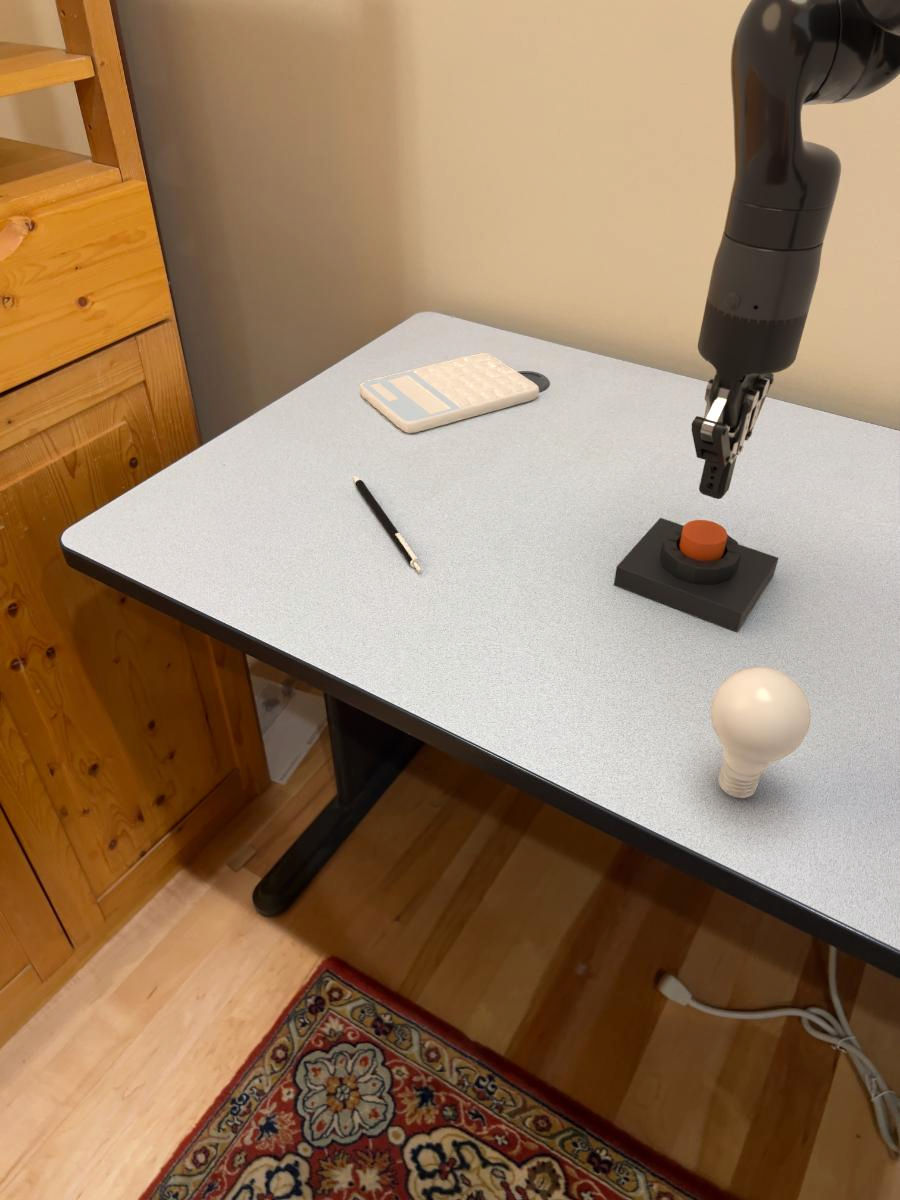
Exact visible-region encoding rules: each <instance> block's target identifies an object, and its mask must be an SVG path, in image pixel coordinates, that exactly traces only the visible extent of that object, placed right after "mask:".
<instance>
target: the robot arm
mask: <svg viewBox="0 0 900 1200" xmlns="http://www.w3.org/2000/svg"><path fill="white" fill-rule="evenodd" d="M731 45H732V46H731V56H730V84H731V86H730V87H731V101H732V117H733V118H732V119H733V120H732V121H733V147H734V148H733V149H734V178H733V183H732V188H731V191H730V196H729V202H728V207H727V210H726V211H727V212H726V217H725V222H724V225H723V226H724V227H723V232H722V235H721V239H720V241H719V242H720V243H719V246H718V248H717V251H716V254H715V257H714V261H713V265H712V270H711V275H710V280H709V285H708V290H707V294H706V295H707V296H706V299H705V306H704V311H703V316H702V320H701V321H702V322H701V326H700V331H699V337H698V342H697V350H698V353H699V355H700V356H701V357H702V358H703V359H704V360H705V361H706V362H708V363H709V364H710V365H711V366H712V367H713V368H714V369H715V374H714V377H713V378H710V379H709V380H708V382H707V385H706V389H705V394H704V401H705V403H706V404H705V410H704V416H703V417H702V416H698V415H697V416H695V417H694V419H693V420H692V422H691V435H692V440H693V443H694V449H695V455H696V458H697V459H701V460H704V464H703V468H702V473H701V477H700V483H699V486H698V490H699V492H700V494H701V495H705V496H706V497H709V498H713V499H716V500H720V499H723V497H724V496H725V495H726V494H727V493H728V491H729V490H730V487H731V482H732V478H733V474H734V471H735V466H736V462H737V458H738V456H740V454H741V453H742V452H743V450H744V444H745V441H749V439H750V438H751V437H752V434H753V430H754V427H755V425H756V423H757V421H758V417H759V415H760V413H761V410H762V408H763V405H764V403H765V401H766V398H767V395H768V393H769V390H770V388H771V386H772V385H773V384H774V380H775V378H774V377H775V376H774V374H777V373H780V372H782V371H784V370H787V369H789V368H790V367H791V366H792V365H793V364H794V362H795V361H796V359H797V356H798V352H799V349H800V343H801V341H802V337H803V334H804V330H805V326H806V323H807V318H808V315H809V311H810V308H811V304H812V300H813V296H814V293H815V289H816V285H817V282H818V278H819V273H820V268H821V261H822V259H821V258H822V252H823V247H824V241H825V238H826V234H827V231H828V227H829V223H830V219H831V217H832V212H833V209H834V204H835V201H836V197H837V193H838V189H839V184H840V179H841V175H842V174H841V173H842V161H841V159H840V157H839V155H838V154H837V153H836V152H835V151H834V150H833V149H831V148H830V147H828V146H825V145H823V144H819V143H816V142H812V141H808V140H804V138H803V137H804V136H803V130H802V129H803V128H802V110H803V106H815V105H832V104H845V103H850V102H854V101H857V100H860V99H862V98H865V97H867V96H870V95H871V94H874V93H875V92H878V91H879V90H881V89H882V88H884V87H886V86H887V85H888V84H890V83H891V82H893V81H894V80H896V78H897V77H899V76H900V0H750V1H749V3H748V4H747V6H746V8H745V10H744V11H743V13H742V15H741V17H740V19H739V22H738V25H737V27H736V30H735V33H734V36H733V41H732V44H731Z"/></svg>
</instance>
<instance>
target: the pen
mask: <svg viewBox="0 0 900 1200" xmlns="http://www.w3.org/2000/svg"><path fill="white" fill-rule="evenodd" d="M352 477H353V481H354V484H355V487H356V488H357V490H358V491H359V493H360V494H361V495H362V497H363V499H364V501H366V503H367V505H368V506H369V508H371V510H372V512H373V513H374V515H375V517H376V518H377V519H378V520H379V522H380V523H381V525H382V526H383V528H384V529H385V531H386V532H387V534H388V535H389V536H390V538H391V539H392V541H393V542H394V543H395V545H396V547H397V548H398V549H399V551H400V552H401V553H402V555H403V557H404V558H405V560H406V561H407V562H408V564H409V565H410V567H411V568H415V569H416V571H417V572H418V574H421V573H422V572H423V570H422V568H421V566H420V561H419V559H418V557H417V555H416V554H415V553H414V551H413V550H412V548H411V547H410V546H409V544H408V543H407V542H406V539H404V537H403V535H402V534H401V533H400V532H399V531H398V529H397V528H396V526H395V525H394V523H393V522H392V521H391V519H390V518H389V517H388V515H387V514H386V513H385V511H384V509H383V507H381V505H380V504H379V502H378V501H377V499H376V498H375V497H374V495H373V494H372V492H371V490H369V489H368V487H367V486H366V484H365V482H364V481H363V480H362V479H360V478H359V477H358V476H356V475H353V476H352Z"/></svg>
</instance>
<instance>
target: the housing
mask: <svg viewBox="0 0 900 1200" xmlns="http://www.w3.org/2000/svg"><path fill="white" fill-rule="evenodd" d="M683 527H684V525H683V524H680V523H677V522H674V521H671V520H669V519H667V518H663V517H659V518H658V519H657V520H656V522H655V523H654V524H653V525H652V526H651V528H650V529H649V530H648V531H647V532H646V533H645V534H644V535H643V536H642V537H641V538H640V540H639V541H638V542H637V543H636V544H635V546H633V548H631V550H630V551H629V552H628V553H627V555H626V556H624V558H623V559H622V560H621V561H620V562H619V563H618V565H616V569H615V575H614V582H613V586H616V587H618V588H621V589H624V590H626V591H628V592H631V593H634V594H637V595H639V596H642V597H644V598H646V599H649V600H652V601H655V602H658V603H659V604H663V605H665V606H668V607H670V608H673V609H675V610H679V611H681V612H683V613H686V614H688V615H691V616H693V617H697V618H699V619H702V620H704V621H706V622H709V623H712V624H715V625H717V626H720V627H721V628H722V627H723V628H725V629H727V630H730V631H733V632H736V633H737V632H739V630H740V628H741V627H742V625H743V624H744V622H745V620H746V619H747V617H748V616H749V614H750V613H751V611H752V610H753V608H754V607H755V605H756V603H757V602H758V601H759V599H760V597H761V596H762V595H763V593H764V592H765V590H766V588H767V587H768V586H769V583H770V582H771V580H772V579H773V577H774V575H775V572H776V568H777V565H778V561H779V557H778V556H775V555H772V554H769V553H766V552H762V551H760V550H758V549H754V548H751V547H747V546H745V545H742V544H740V543H738V541H737V540H735V539H734V538H733V537H732V536H730V535H729V534H728V537H727V541H726V545H725V549H724V553H723V556H722V557H721V558H720V559H718V560H715V561H699V560H696V559H693V558H690V557H687V556H685V555H684V554H683V553H682V552H681V551H680V549H679V544H680V539H681V535H682V530H683Z"/></svg>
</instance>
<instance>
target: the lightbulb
mask: <svg viewBox="0 0 900 1200" xmlns="http://www.w3.org/2000/svg"><path fill="white" fill-rule="evenodd" d="M811 720H812V713H811V706H810V702H809V700H808V697H807V695H806V693H805V691H804V689H803V688H802V687H801V685H800V684H799V683H798V682H797V681H795V680H794V678H792V677H791V676H790V675H788V674H786V673H784V672H783V671H780V670H778V669H775V668H773V667H767V666H749V667H745V668H742V669H739V670H737V671H734V672H732V673H731V674H730V675H728V676H727V677H726V678H725V679H723V681H722V682H721V683H720V685H718V687H717V688H716V690H715V692H714V694H713V696H712V700H711V704H710V721H711V726H712V729H713V731H714V733H715V736H716V737H717V739H718V741H719V742H720V744H721V745H722V746H721V747H722V751H721V752H722V757H723V760H722V761H723V762H722V765H721V767H720V771H719V774H718V779H717V781H718V785H719V787H720V788H721V789H722V791H724V792H725V793H726V794H728V795H729V796H731V797H735V798H738V799H739V798H740V799H745V798H749V797H751V796H753V795H754V794H755V792H756V790H757V788H758V784H759V783H760V779H761V776H762V774H763V773H764V772H765V771H766V770H767V769H768V768H769V767H770V765H771V764H772V763H774V762H777V761H779V760H782V759H784V758H786V757H788V756H790V755H791V754H792V753H794V752H795V751H797V749H798V748H799V747H800V746H801V745H802V744H803V742H805V739H806V737H807V735H808V734H809V732H810V731H809V730H810V727H811Z"/></svg>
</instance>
